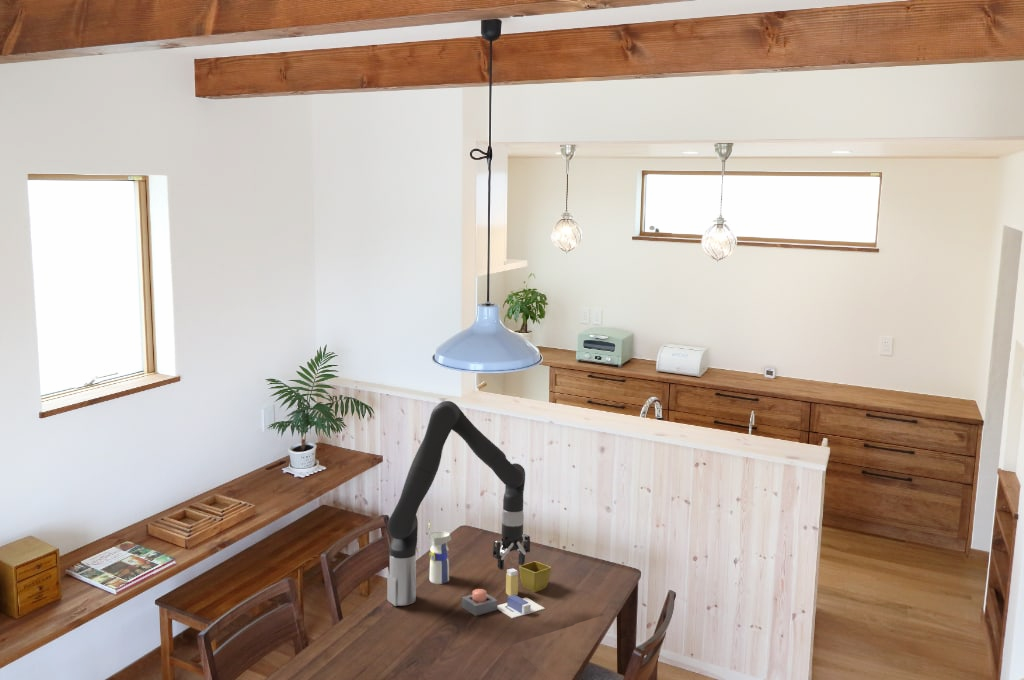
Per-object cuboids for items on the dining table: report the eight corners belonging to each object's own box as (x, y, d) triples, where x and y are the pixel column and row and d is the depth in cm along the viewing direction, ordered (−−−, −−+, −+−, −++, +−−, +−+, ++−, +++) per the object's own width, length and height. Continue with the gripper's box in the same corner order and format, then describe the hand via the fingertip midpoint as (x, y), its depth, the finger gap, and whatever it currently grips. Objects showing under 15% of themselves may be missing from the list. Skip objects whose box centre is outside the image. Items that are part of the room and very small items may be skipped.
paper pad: (512, 618, 289) (512, 617, 289) (494, 607, 298) (494, 606, 298) (544, 609, 297) (544, 608, 297) (526, 598, 306) (526, 597, 306)
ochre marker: (510, 597, 306) (511, 572, 305) (505, 594, 308) (506, 569, 307) (517, 595, 308) (518, 570, 307) (512, 592, 310) (513, 567, 309)
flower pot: (534, 583, 320) (534, 560, 319) (551, 590, 313) (551, 566, 312) (518, 589, 313) (518, 566, 312) (534, 596, 307) (535, 572, 306)
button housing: (475, 615, 290) (475, 606, 290) (461, 606, 298) (461, 597, 297) (497, 609, 295) (497, 600, 295) (483, 600, 303) (483, 591, 302)
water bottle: (437, 590, 311) (437, 524, 309) (423, 583, 318) (424, 518, 315) (454, 584, 317) (455, 520, 314) (441, 578, 323) (441, 514, 320)
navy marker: (507, 605, 299) (523, 614, 291) (507, 596, 298) (523, 606, 291) (514, 603, 300) (530, 612, 293) (514, 594, 300) (531, 603, 293)
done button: (477, 607, 293) (477, 595, 292) (469, 601, 297) (469, 591, 296) (489, 603, 296) (489, 592, 295) (481, 598, 300) (481, 587, 299)
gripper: (501, 528, 286) (500, 574, 287) (535, 521, 294) (533, 566, 295) (489, 522, 292) (488, 567, 293) (523, 515, 300) (521, 559, 302)
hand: (511, 566), depth 294 cm, fingers open, 8 cm apart
